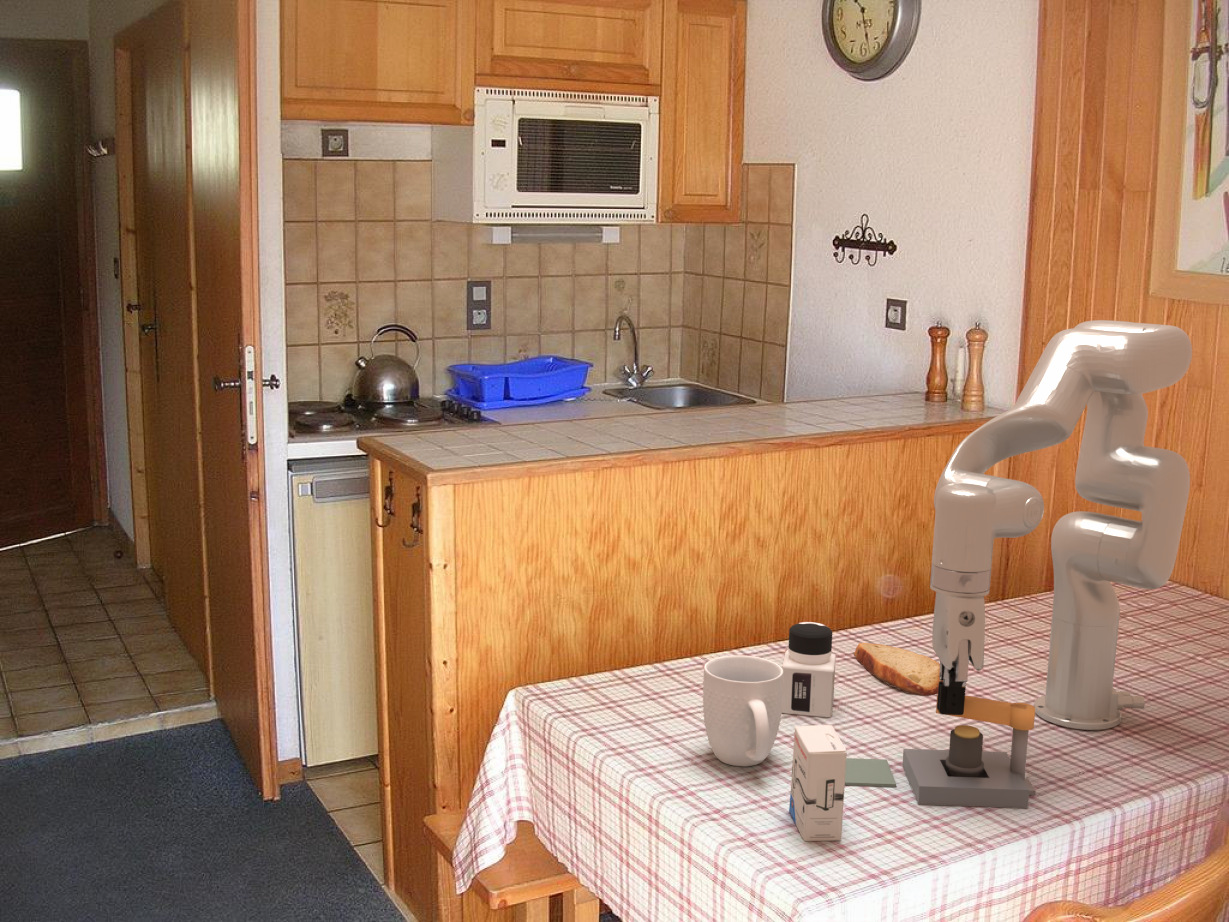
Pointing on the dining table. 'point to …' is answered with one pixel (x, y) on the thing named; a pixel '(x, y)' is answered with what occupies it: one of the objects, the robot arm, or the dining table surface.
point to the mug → (742, 707)
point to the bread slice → (900, 668)
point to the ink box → (818, 782)
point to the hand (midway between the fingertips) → (950, 712)
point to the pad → (868, 773)
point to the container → (809, 671)
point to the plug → (965, 752)
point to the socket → (971, 778)
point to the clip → (998, 712)
